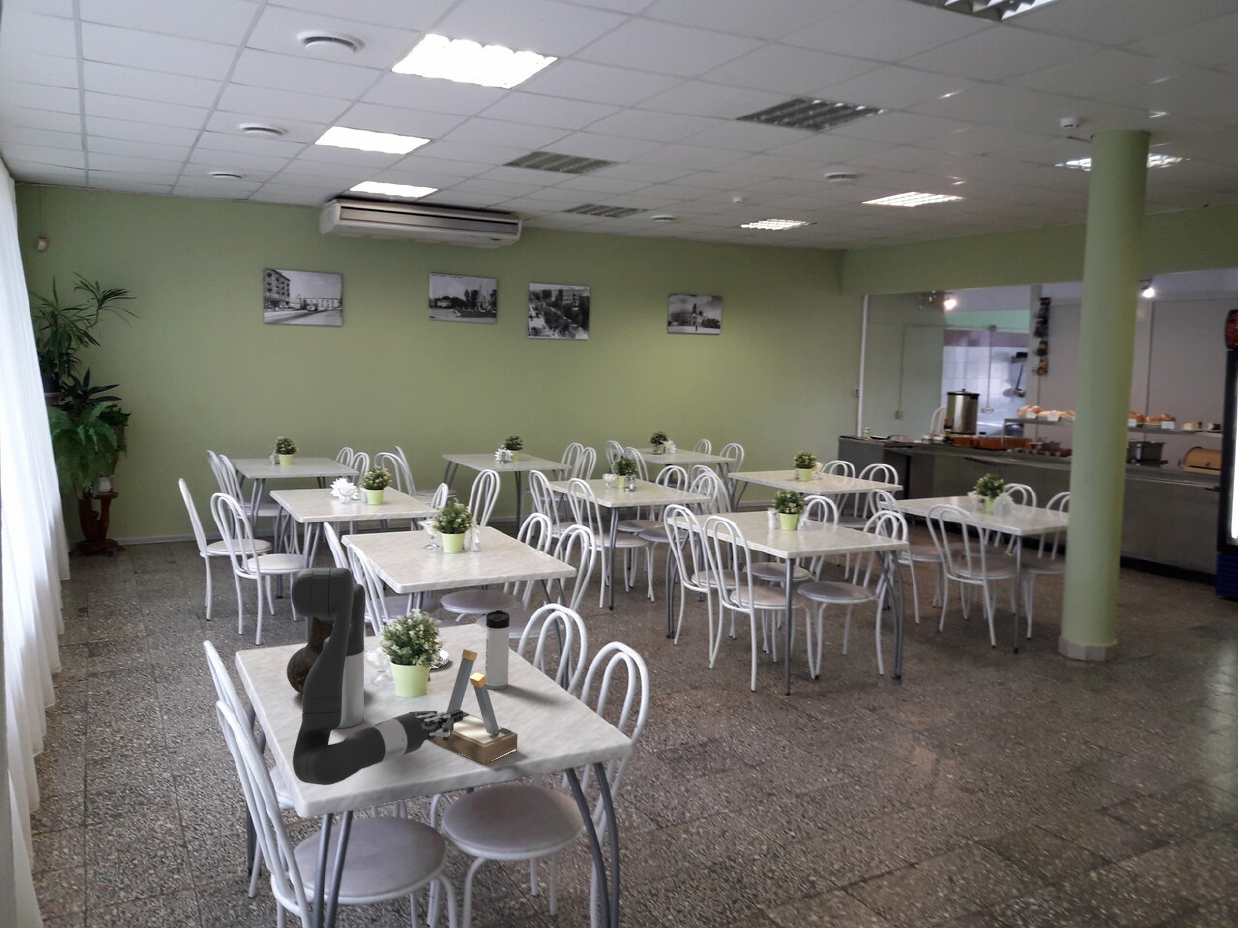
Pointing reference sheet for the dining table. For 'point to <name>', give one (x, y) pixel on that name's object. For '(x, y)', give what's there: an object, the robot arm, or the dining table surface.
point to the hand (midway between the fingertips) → (460, 714)
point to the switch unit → (478, 740)
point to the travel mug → (497, 650)
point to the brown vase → (308, 654)
